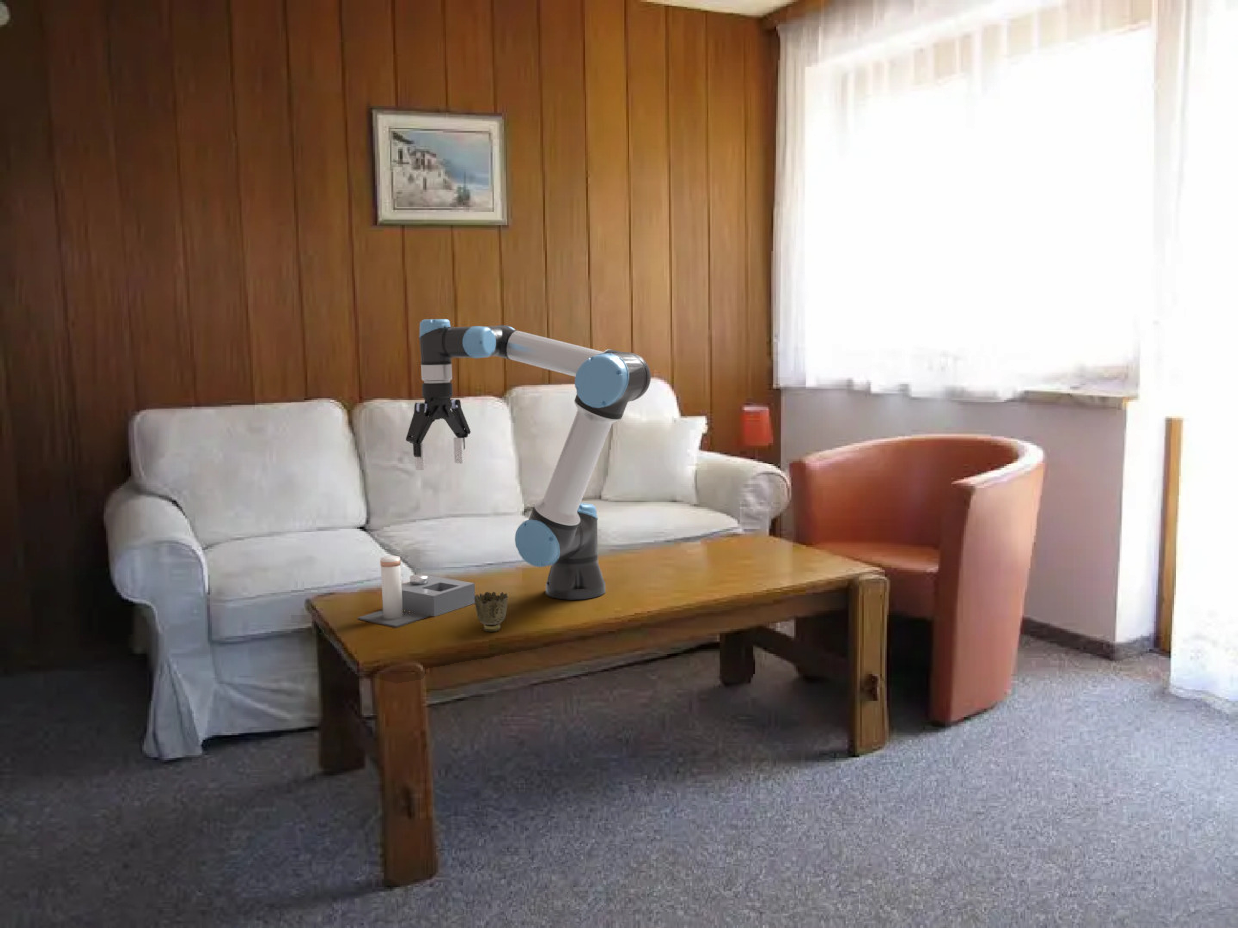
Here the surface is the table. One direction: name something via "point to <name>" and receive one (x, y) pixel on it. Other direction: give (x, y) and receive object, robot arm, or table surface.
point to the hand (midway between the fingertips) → (440, 466)
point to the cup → (491, 610)
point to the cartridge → (391, 587)
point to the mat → (406, 619)
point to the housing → (437, 596)
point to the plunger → (419, 579)
